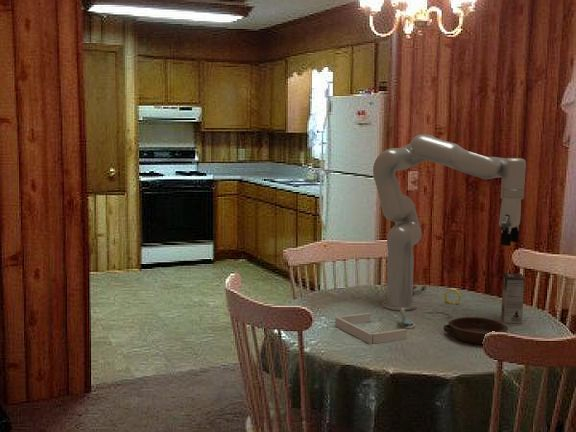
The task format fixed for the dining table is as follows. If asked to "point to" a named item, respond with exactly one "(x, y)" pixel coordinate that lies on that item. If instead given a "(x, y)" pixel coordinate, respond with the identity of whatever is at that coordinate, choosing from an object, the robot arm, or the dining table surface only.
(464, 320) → the dish
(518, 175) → the robot arm
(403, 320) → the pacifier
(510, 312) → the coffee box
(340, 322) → the box
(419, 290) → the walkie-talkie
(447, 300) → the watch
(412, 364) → the dining table surface
